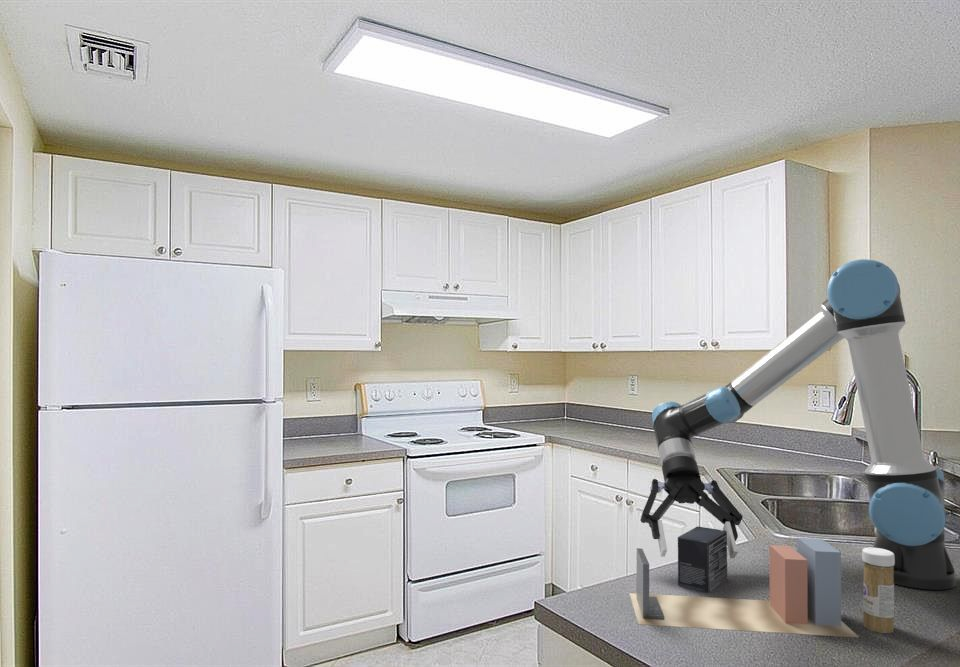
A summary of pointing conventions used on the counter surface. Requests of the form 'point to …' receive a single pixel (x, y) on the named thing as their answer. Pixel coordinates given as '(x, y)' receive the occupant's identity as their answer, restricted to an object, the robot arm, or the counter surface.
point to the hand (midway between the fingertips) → (699, 554)
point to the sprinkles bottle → (878, 589)
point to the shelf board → (730, 616)
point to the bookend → (646, 590)
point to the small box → (702, 559)
